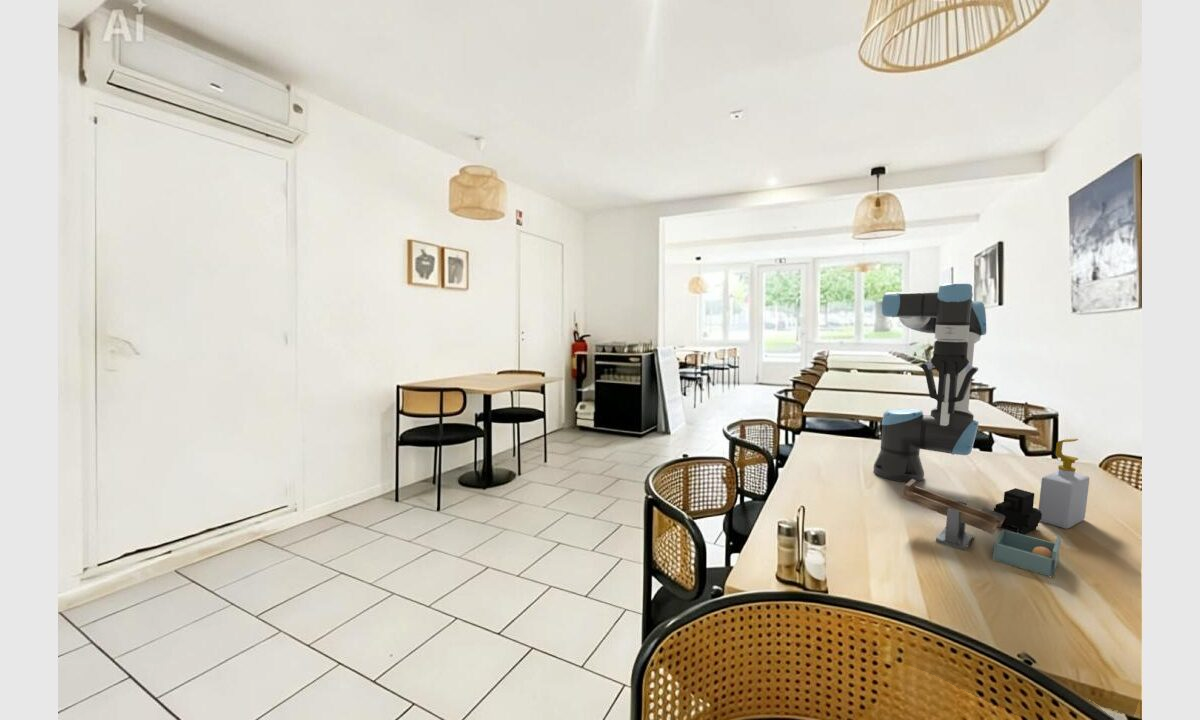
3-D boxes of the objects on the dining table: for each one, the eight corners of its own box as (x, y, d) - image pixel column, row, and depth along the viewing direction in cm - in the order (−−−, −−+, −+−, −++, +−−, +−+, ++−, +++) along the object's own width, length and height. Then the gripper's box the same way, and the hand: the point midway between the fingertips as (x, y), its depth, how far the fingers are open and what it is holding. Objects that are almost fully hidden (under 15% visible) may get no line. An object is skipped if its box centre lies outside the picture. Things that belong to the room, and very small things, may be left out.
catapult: (900, 497, 131) (904, 484, 130) (914, 486, 139) (917, 473, 138) (995, 535, 117) (1000, 520, 116) (1004, 519, 125) (1008, 505, 124)
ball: (1036, 546, 112) (1055, 557, 110) (1038, 541, 115) (1057, 551, 112) (1027, 558, 113) (1046, 569, 111) (1030, 552, 116) (1048, 563, 114)
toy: (980, 530, 130) (983, 494, 129) (1008, 519, 137) (1011, 485, 135) (1014, 542, 124) (1018, 504, 123) (1041, 530, 130) (1045, 494, 129)
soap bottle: (1067, 530, 130) (1077, 444, 127) (1036, 520, 136) (1044, 438, 133) (1085, 520, 136) (1095, 438, 133) (1054, 511, 142) (1063, 432, 139)
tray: (992, 559, 116) (994, 535, 115) (1000, 544, 123) (1002, 521, 122) (1053, 577, 108) (1056, 552, 107) (1058, 560, 115) (1061, 536, 114)
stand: (935, 541, 124) (938, 508, 123) (945, 529, 131) (948, 497, 130) (964, 550, 120) (967, 515, 119) (973, 537, 126) (976, 503, 125)
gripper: (919, 340, 136) (913, 422, 139) (977, 342, 127) (970, 431, 129) (927, 338, 141) (921, 418, 144) (983, 341, 132) (976, 426, 134)
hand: (944, 424), depth 137 cm, fingers closed
